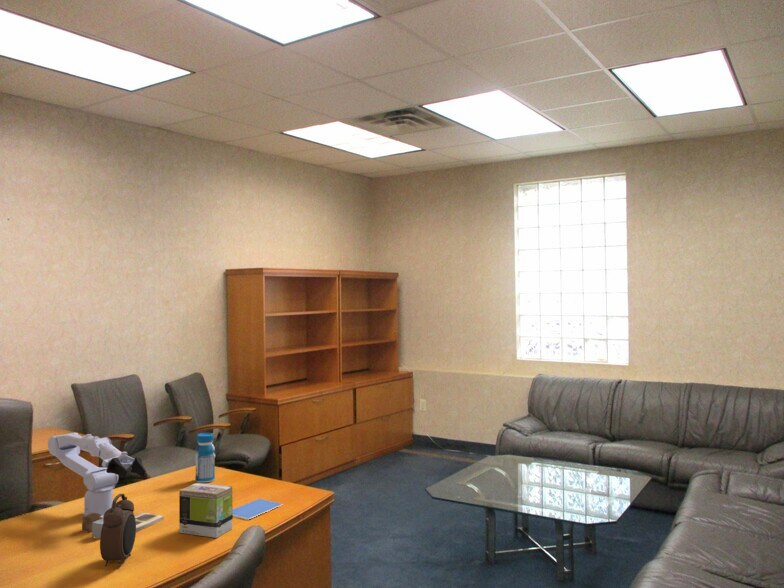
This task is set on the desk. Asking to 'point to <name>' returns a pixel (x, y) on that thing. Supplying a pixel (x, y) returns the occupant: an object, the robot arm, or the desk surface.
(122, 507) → the alarm clock
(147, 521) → the board
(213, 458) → the beverage bottle
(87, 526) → the walnut block
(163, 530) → the desk surface
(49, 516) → the desk surface
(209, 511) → the tea box
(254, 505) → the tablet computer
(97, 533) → the grey block
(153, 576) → the desk surface
